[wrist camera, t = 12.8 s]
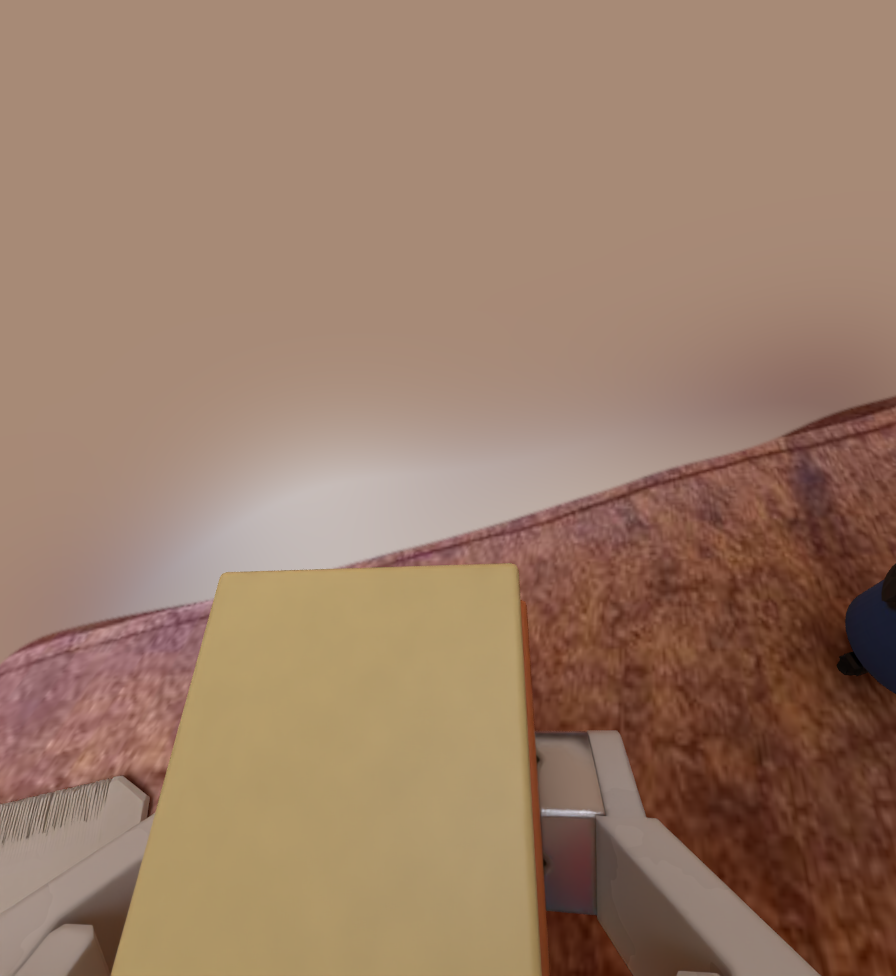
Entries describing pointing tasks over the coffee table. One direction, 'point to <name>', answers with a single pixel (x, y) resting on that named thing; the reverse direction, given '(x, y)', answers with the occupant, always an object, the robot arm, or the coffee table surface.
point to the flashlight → (873, 633)
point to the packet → (350, 784)
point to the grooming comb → (62, 832)
